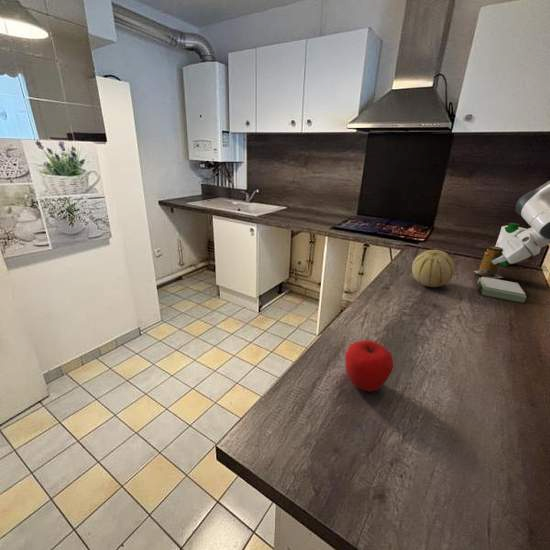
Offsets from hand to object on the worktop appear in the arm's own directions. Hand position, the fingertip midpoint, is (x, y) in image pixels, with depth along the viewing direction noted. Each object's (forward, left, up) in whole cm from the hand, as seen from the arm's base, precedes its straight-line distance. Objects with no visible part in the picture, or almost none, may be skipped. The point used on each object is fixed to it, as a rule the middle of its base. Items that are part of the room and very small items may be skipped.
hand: (491, 260), depth 124 cm
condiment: (-1, +1, -7) cm, 7 cm away
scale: (-2, +16, -8) cm, 18 cm away
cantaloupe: (+23, +23, -8) cm, 33 cm away
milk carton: (-10, -26, -8) cm, 29 cm away
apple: (+36, +91, -8) cm, 98 cm away
